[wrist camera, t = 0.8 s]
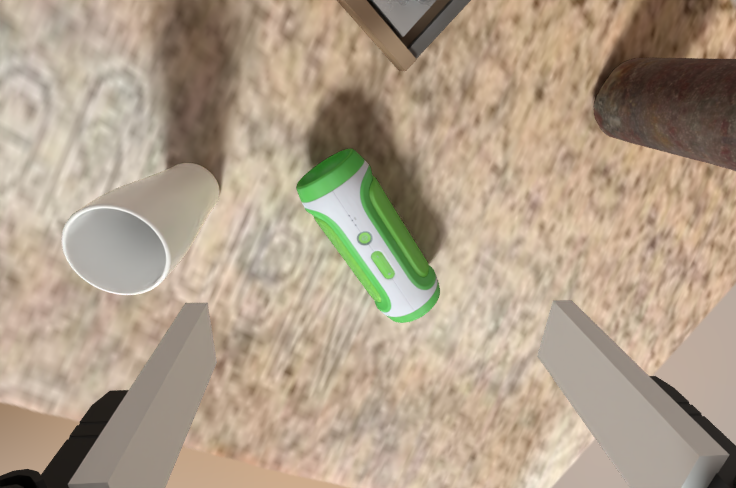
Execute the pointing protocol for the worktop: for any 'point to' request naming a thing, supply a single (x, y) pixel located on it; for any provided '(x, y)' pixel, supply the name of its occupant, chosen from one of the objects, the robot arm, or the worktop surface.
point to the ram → (401, 13)
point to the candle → (673, 107)
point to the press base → (415, 39)
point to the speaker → (369, 235)
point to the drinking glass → (140, 229)
